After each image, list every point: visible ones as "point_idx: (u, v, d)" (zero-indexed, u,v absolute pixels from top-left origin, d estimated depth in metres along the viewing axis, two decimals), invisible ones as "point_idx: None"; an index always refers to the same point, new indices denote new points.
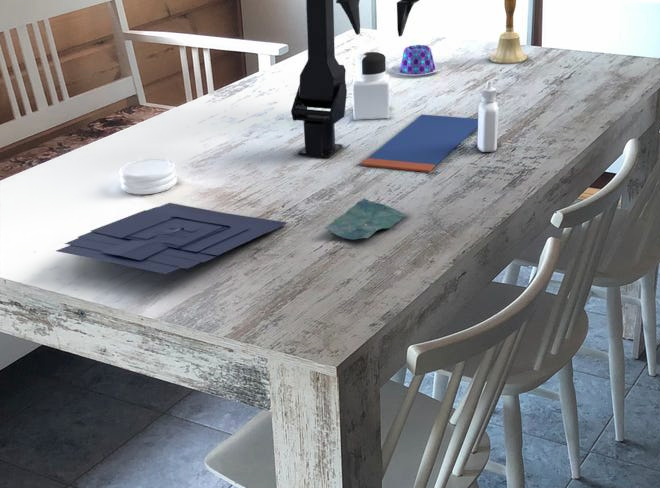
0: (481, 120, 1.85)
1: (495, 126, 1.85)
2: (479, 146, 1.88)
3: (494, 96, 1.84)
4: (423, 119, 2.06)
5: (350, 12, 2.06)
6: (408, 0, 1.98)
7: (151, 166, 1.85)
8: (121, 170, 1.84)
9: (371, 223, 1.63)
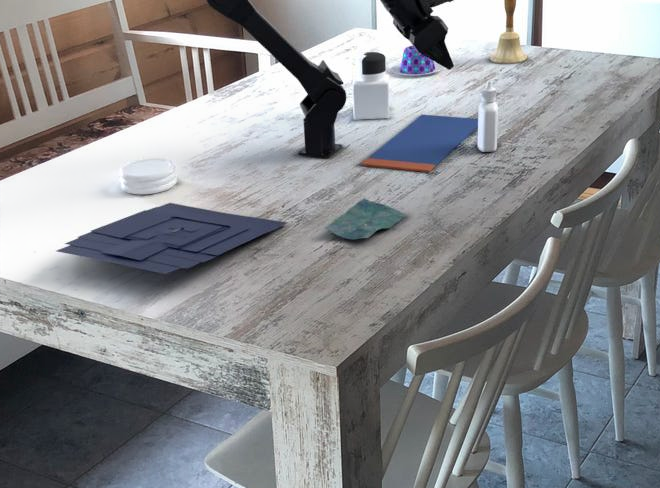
0: (481, 120, 1.85)
1: (495, 126, 1.85)
2: (479, 146, 1.88)
3: (494, 96, 1.84)
4: (423, 119, 2.06)
5: None
6: None
7: (151, 166, 1.85)
8: (121, 170, 1.84)
9: (371, 223, 1.63)
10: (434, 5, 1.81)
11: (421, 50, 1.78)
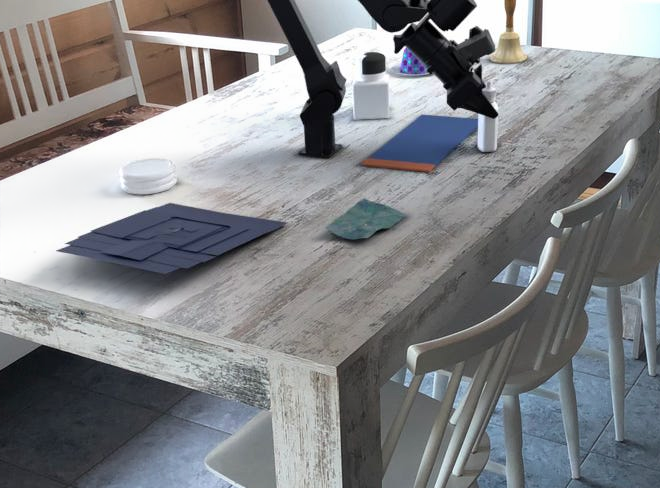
0: (481, 120, 1.85)
1: (495, 126, 1.85)
2: (479, 146, 1.88)
3: (494, 96, 1.84)
4: (423, 119, 2.06)
5: None
6: None
7: (151, 166, 1.85)
8: (121, 170, 1.84)
9: (371, 223, 1.63)
10: (473, 60, 1.80)
11: (455, 108, 1.78)
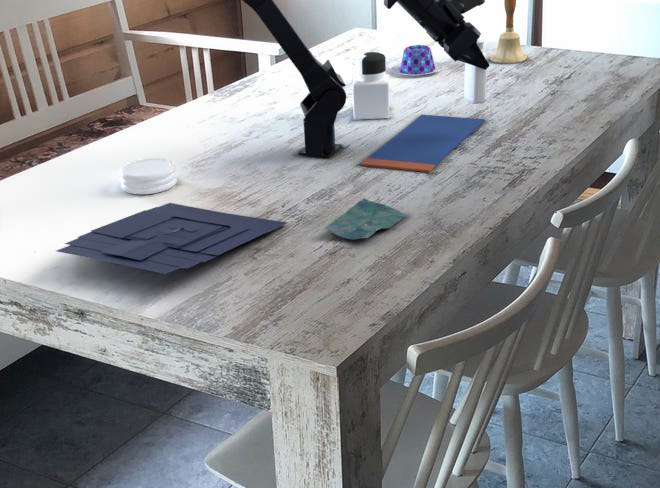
0: (472, 72, 1.88)
1: (485, 77, 1.88)
2: (468, 99, 1.91)
3: (482, 47, 1.87)
4: (423, 119, 2.06)
5: None
6: None
7: (151, 166, 1.85)
8: (121, 170, 1.84)
9: (371, 223, 1.63)
10: (464, 11, 1.82)
11: (457, 59, 1.79)
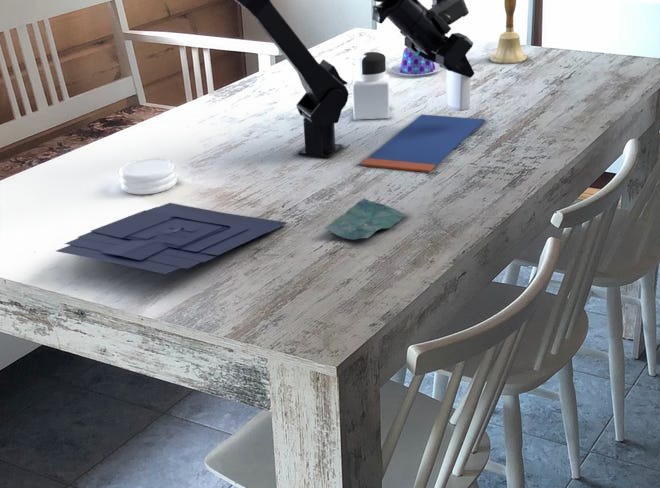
0: (457, 81, 1.94)
1: (470, 85, 1.95)
2: (454, 106, 1.97)
3: None
4: (423, 119, 2.06)
5: (434, 61, 1.97)
6: (447, 69, 1.86)
7: (151, 166, 1.85)
8: (121, 170, 1.84)
9: (371, 223, 1.63)
10: (451, 22, 1.88)
11: (452, 68, 1.85)
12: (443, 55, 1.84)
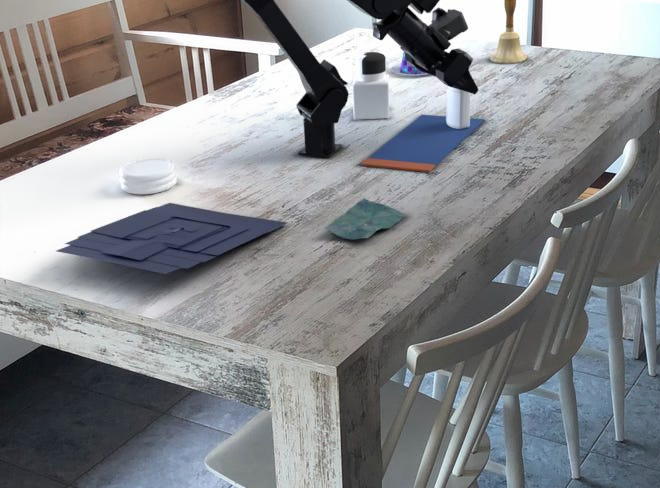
0: (457, 99, 1.96)
1: (469, 103, 1.97)
2: (454, 125, 1.99)
3: None
4: (423, 119, 2.06)
5: (431, 74, 1.99)
6: (447, 85, 1.88)
7: (151, 166, 1.85)
8: (121, 170, 1.84)
9: (371, 223, 1.63)
10: (450, 38, 1.89)
11: (452, 84, 1.86)
12: (443, 71, 1.86)
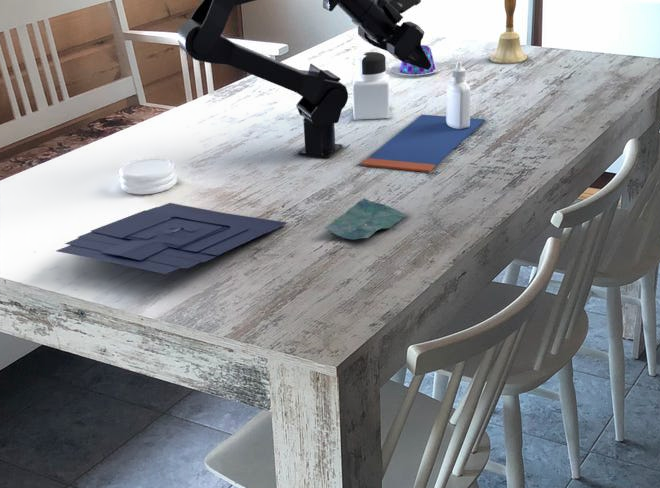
0: (457, 99, 1.96)
1: (469, 103, 1.97)
2: (454, 125, 1.99)
3: (464, 75, 1.95)
4: (423, 119, 2.06)
5: (384, 49, 1.94)
6: (398, 58, 1.83)
7: (151, 166, 1.85)
8: (121, 170, 1.84)
9: (371, 223, 1.63)
10: (402, 11, 1.84)
11: (403, 58, 1.81)
12: (394, 44, 1.80)
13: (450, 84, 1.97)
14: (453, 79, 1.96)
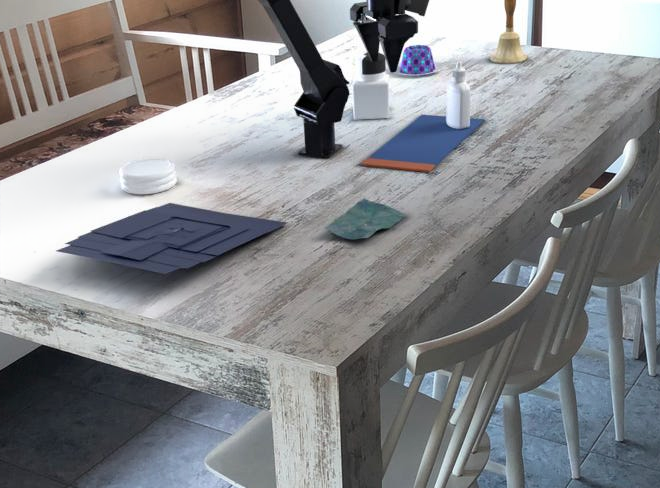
0: (457, 99, 1.96)
1: (469, 103, 1.97)
2: (454, 125, 1.99)
3: (464, 75, 1.95)
4: (423, 119, 2.06)
5: (362, 37, 1.95)
6: (383, 35, 1.83)
7: (151, 166, 1.85)
8: (121, 170, 1.84)
9: (371, 223, 1.63)
10: (407, 9, 1.87)
11: (389, 36, 1.81)
12: (390, 19, 1.81)
13: (450, 84, 1.97)
14: (453, 79, 1.96)
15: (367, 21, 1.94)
